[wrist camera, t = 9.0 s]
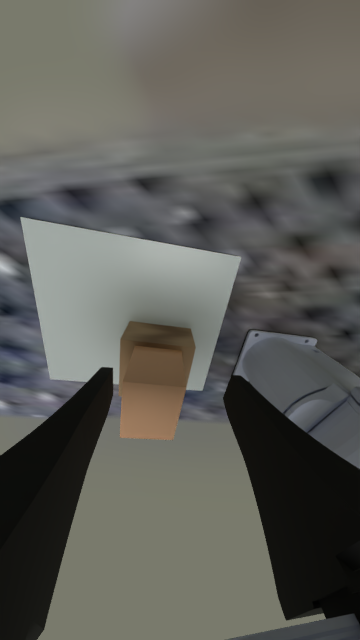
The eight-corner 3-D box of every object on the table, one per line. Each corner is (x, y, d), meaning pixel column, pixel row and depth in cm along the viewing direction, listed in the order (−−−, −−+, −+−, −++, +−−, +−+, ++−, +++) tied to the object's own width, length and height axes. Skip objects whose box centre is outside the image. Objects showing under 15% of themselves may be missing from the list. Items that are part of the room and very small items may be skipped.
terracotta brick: (181, 350, 16) (186, 387, 12) (172, 396, 18) (173, 439, 14) (134, 345, 15) (122, 381, 11) (131, 393, 18) (119, 437, 14)
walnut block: (190, 328, 20) (195, 347, 16) (180, 374, 22) (183, 400, 19) (129, 321, 19) (120, 339, 15) (127, 370, 21) (118, 395, 18)
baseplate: (238, 256, 17) (241, 257, 17) (201, 386, 24) (202, 390, 24) (27, 218, 15) (20, 217, 14) (54, 374, 22) (50, 379, 21)
